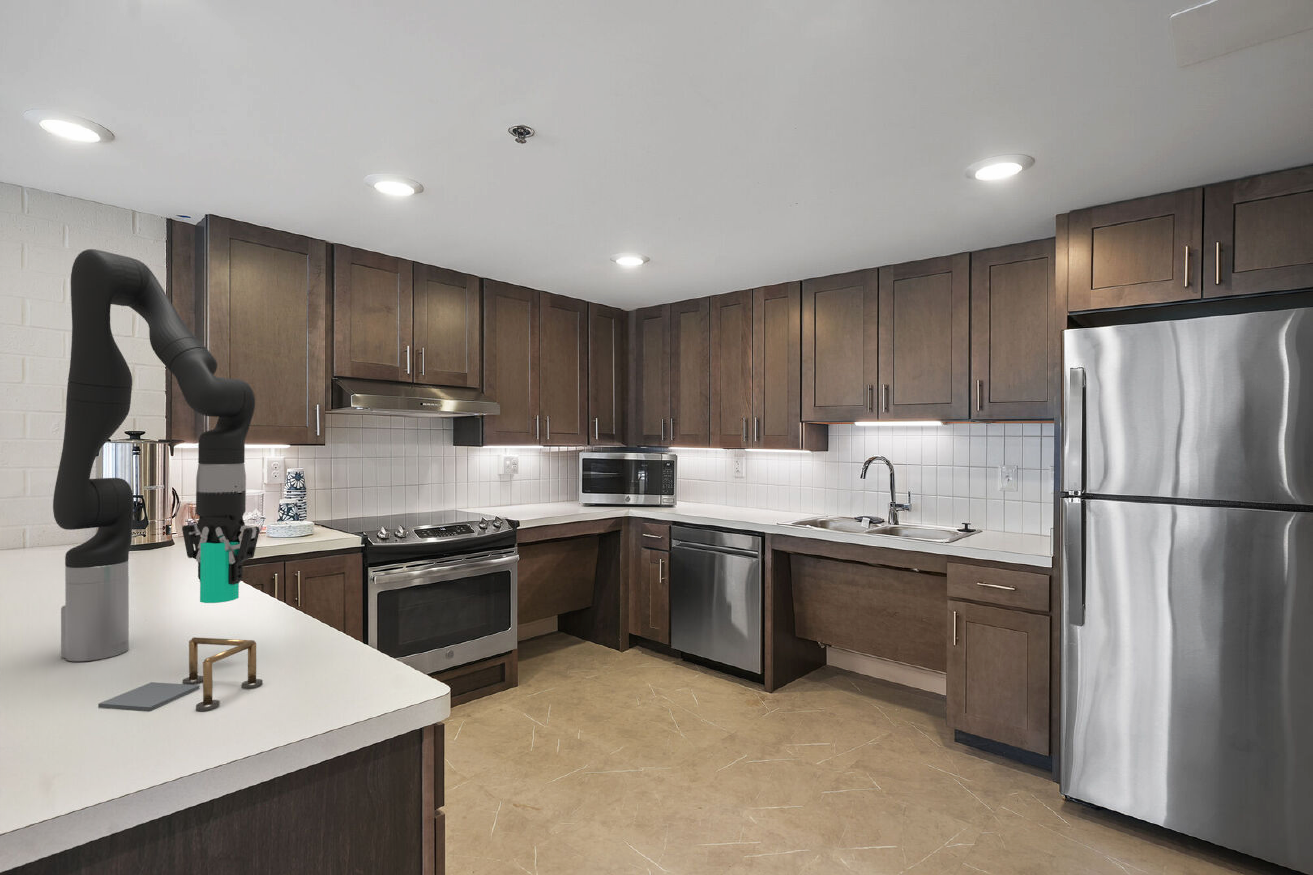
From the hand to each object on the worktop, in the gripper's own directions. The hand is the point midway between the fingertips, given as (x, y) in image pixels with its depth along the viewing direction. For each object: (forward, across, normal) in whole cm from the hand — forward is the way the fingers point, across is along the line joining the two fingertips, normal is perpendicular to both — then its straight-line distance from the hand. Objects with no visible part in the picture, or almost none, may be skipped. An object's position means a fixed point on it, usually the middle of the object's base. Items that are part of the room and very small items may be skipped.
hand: (220, 582), depth 121 cm
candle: (+3, 0, 0) cm, 3 cm away
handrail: (+15, +8, -13) cm, 21 cm away
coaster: (+15, +1, -15) cm, 21 cm away
